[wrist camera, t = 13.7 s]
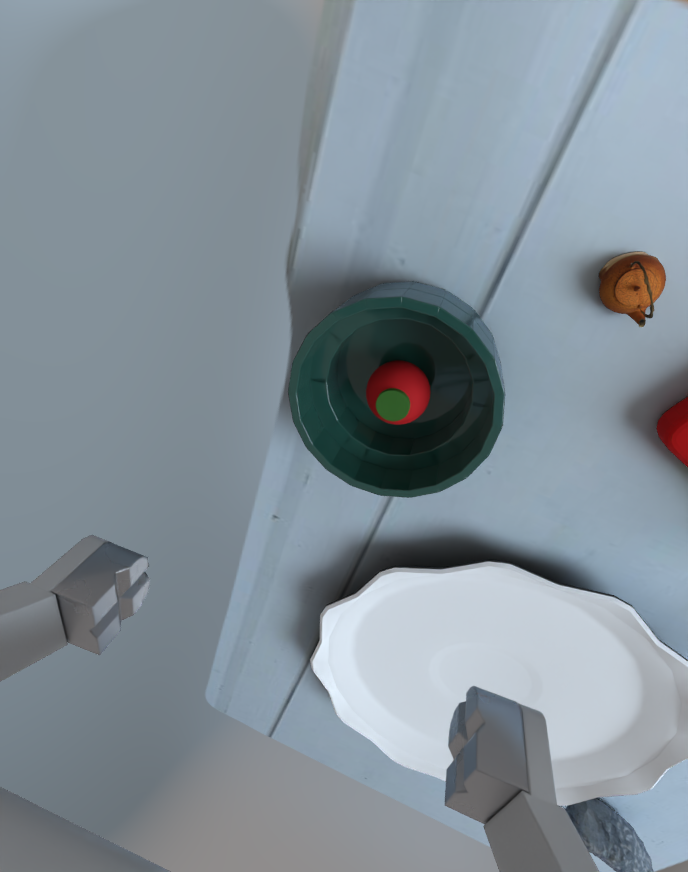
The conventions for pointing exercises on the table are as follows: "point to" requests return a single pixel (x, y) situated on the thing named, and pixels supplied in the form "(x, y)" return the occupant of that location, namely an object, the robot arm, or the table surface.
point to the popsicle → (675, 430)
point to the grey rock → (609, 836)
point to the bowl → (412, 342)
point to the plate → (506, 671)
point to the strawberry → (398, 392)
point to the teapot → (632, 284)
